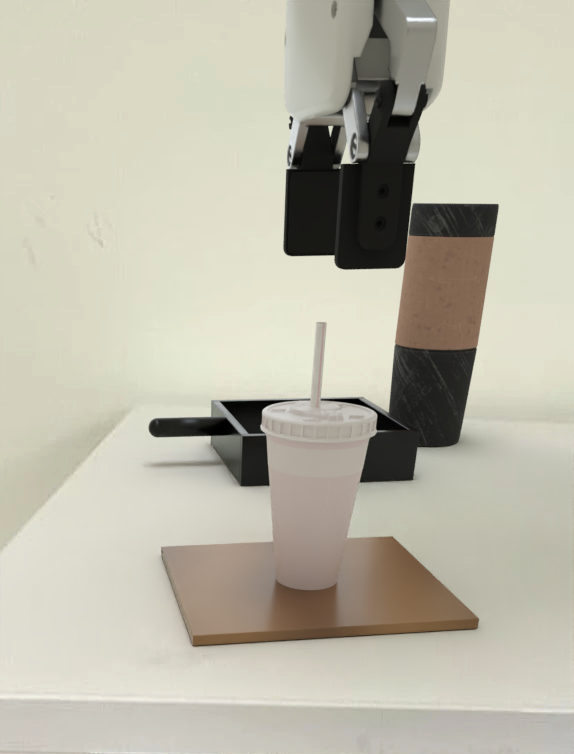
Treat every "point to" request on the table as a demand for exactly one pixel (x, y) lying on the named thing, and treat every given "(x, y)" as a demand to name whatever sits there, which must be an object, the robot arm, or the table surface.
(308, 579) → the smoothie
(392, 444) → the pan
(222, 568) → the brown mat
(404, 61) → the robot arm
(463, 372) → the travel mug
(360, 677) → the table surface
